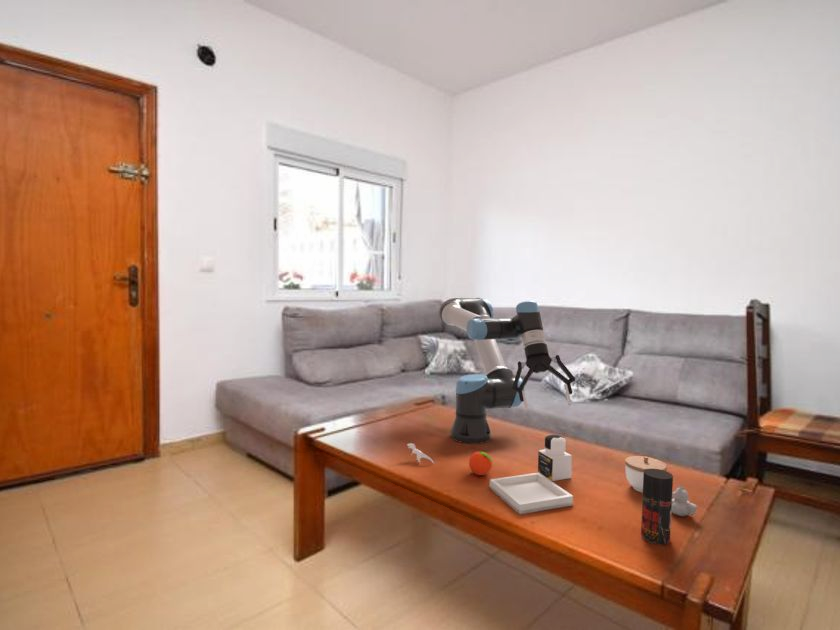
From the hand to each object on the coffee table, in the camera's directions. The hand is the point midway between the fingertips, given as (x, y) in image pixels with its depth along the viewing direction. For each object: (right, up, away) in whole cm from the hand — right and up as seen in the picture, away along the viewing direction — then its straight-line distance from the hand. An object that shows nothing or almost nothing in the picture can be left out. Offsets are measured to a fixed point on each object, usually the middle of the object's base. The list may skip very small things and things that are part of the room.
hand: (548, 408), depth 148 cm
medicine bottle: (-1, -19, -8) cm, 21 cm away
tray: (-11, -19, -23) cm, 32 cm away
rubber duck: (+25, -21, -32) cm, 46 cm away
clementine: (-23, -19, -9) cm, 31 cm away
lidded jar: (+23, -20, -17) cm, 35 cm away
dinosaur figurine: (-42, -18, +1) cm, 46 cm away
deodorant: (+13, -21, -43) cm, 49 cm away
